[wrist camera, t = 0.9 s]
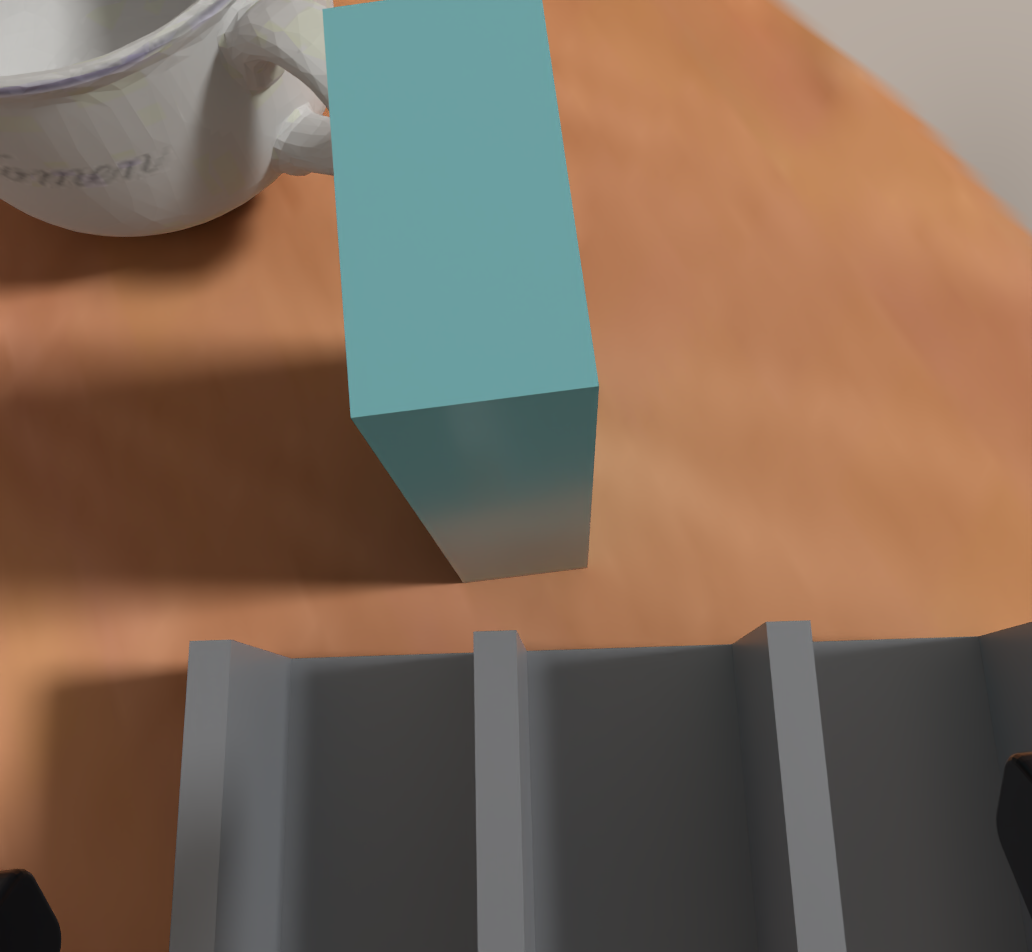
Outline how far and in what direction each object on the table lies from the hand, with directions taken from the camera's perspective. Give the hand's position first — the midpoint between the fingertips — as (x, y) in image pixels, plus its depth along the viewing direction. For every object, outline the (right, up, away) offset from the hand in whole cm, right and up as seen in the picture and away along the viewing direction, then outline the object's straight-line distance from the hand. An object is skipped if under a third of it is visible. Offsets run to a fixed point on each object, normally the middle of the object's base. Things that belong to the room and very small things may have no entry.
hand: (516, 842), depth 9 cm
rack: (+3, -6, +12) cm, 14 cm away
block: (0, +4, +15) cm, 15 cm away
